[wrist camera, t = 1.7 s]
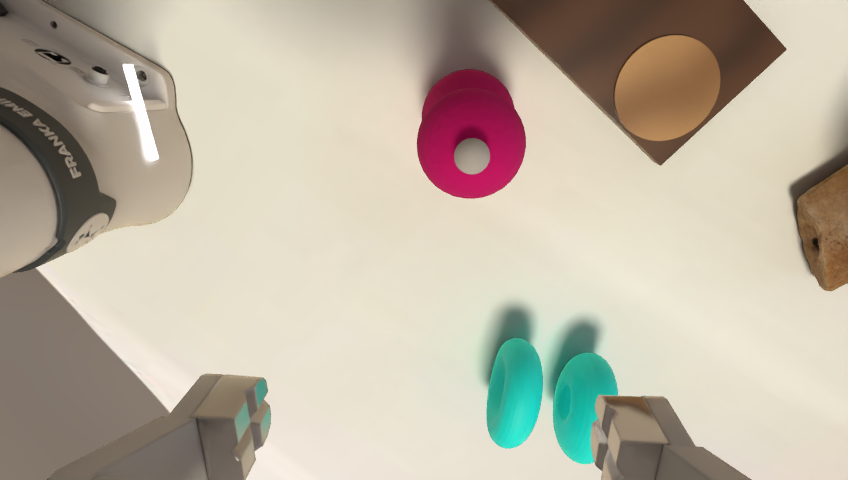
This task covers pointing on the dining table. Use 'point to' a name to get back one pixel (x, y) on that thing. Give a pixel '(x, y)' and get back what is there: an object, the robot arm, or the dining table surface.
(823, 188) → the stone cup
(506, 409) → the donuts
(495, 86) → the pepper mill
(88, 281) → the dining table surface
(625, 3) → the serving board
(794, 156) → the dining table surface
